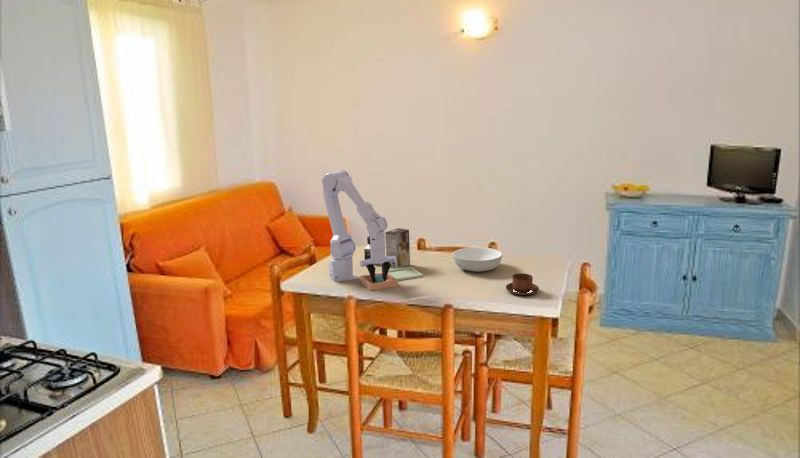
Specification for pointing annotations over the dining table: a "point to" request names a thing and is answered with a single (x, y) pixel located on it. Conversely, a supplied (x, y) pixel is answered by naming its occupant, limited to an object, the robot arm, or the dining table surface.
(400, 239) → the coffee box
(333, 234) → the robot arm
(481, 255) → the serving bowl
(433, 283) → the dining table surface
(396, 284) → the dish
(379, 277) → the ball
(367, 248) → the medicine bottle
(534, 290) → the cup and saucer
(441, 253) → the dining table surface
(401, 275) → the tray
